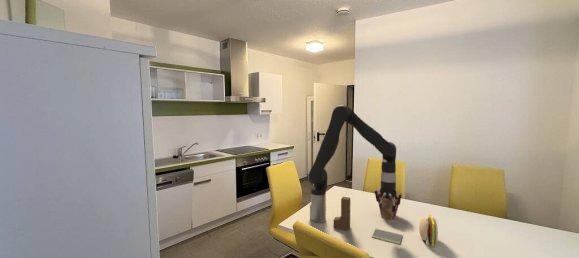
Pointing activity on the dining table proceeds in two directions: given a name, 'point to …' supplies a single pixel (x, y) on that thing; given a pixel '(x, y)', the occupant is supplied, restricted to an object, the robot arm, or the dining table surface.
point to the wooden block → (343, 215)
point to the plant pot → (395, 201)
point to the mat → (387, 236)
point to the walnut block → (387, 208)
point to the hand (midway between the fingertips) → (387, 210)
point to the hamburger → (428, 230)
